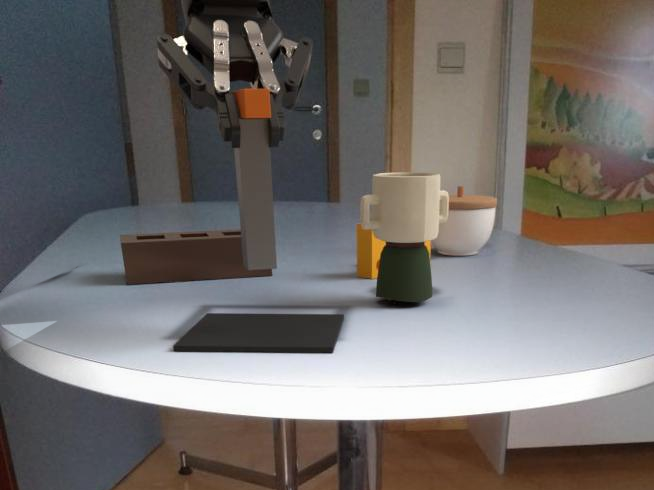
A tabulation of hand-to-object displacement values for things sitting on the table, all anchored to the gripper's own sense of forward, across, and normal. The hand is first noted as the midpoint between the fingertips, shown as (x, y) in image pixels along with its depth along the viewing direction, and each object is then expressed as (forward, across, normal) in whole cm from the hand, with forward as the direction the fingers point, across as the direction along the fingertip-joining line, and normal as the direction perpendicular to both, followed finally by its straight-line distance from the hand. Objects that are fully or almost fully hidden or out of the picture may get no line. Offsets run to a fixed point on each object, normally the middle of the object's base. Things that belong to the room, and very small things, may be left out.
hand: (255, 139), depth 59 cm
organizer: (-12, -3, +36) cm, 38 cm away
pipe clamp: (-9, +22, +32) cm, 40 cm away
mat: (+10, 0, +13) cm, 17 cm away
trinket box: (-16, +37, +40) cm, 56 cm away
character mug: (+4, +17, +19) cm, 26 cm away
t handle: (+6, 0, +9) cm, 11 cm away
